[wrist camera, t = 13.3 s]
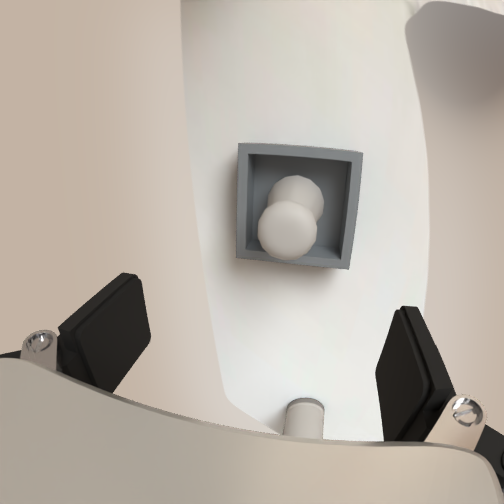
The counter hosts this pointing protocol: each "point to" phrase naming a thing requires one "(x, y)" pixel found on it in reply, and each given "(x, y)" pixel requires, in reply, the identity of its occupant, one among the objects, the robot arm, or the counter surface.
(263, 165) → the box
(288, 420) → the travel mug
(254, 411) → the counter surface
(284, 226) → the salt shaker
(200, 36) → the counter surface
